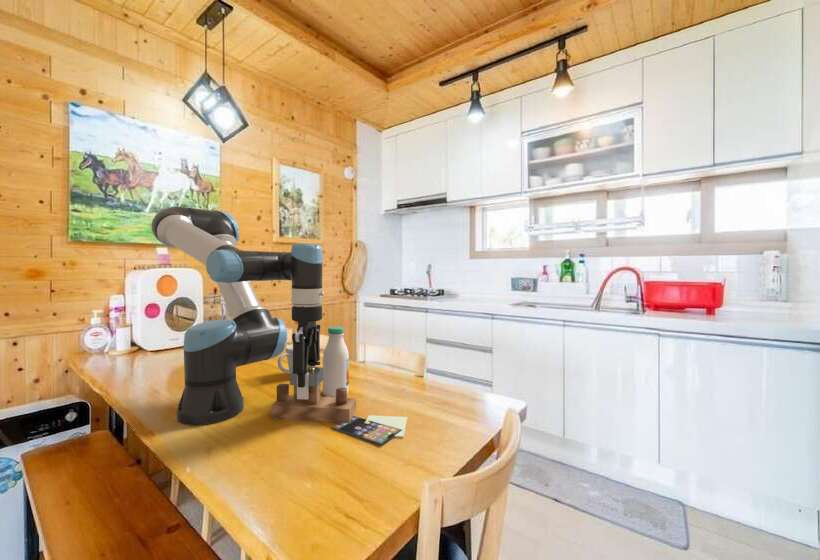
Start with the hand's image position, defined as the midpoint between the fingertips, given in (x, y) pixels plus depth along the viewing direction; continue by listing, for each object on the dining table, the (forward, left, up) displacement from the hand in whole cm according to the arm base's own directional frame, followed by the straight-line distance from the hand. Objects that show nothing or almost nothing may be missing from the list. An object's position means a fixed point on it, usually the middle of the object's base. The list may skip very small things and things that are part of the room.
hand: (307, 394), depth 92 cm
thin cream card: (+21, -5, -5) cm, 22 cm away
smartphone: (+17, -7, -6) cm, 19 cm away
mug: (-15, +29, -6) cm, 34 cm away
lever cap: (0, 0, +3) cm, 3 cm away
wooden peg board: (+2, 0, -5) cm, 6 cm away
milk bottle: (+3, +15, -6) cm, 17 cm away
